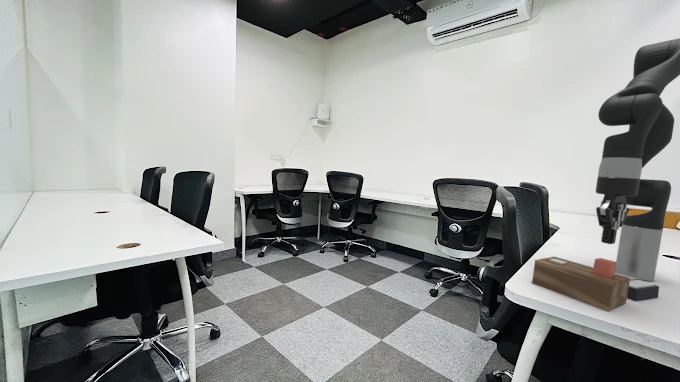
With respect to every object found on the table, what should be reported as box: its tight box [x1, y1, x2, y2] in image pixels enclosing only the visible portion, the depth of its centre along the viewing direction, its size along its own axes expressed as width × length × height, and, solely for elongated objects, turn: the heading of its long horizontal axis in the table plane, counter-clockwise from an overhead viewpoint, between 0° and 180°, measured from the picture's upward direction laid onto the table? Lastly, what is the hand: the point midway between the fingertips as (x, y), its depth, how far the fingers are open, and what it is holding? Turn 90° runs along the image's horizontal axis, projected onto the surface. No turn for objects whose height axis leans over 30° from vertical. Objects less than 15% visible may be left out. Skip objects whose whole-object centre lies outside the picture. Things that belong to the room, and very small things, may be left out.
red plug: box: [593, 257, 617, 279], centre depth 70 cm, size 3×3×7 cm
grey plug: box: [549, 259, 568, 265], centre depth 79 cm, size 3×3×7 cm
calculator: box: [615, 272, 660, 302], centre depth 81 cm, size 11×4×15 cm
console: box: [531, 256, 630, 312], centre depth 75 cm, size 11×17×7 cm, turn 27°
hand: (607, 243), depth 69 cm, fingers closed
